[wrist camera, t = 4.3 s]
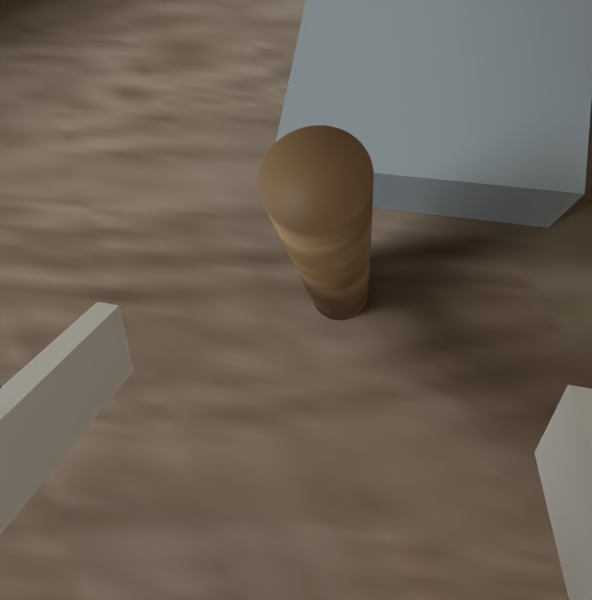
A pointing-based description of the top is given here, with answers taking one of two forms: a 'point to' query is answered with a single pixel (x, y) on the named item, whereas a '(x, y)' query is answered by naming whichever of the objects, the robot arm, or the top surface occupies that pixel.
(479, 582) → the top surface
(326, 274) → the peg
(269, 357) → the top surface
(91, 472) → the top surface
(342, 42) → the hole block
